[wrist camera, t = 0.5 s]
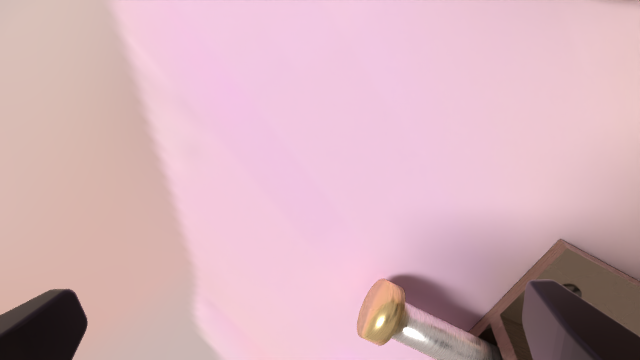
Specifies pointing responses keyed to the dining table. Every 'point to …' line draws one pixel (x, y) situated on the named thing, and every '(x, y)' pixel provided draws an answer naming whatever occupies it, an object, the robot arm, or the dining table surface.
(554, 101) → the dining table surface
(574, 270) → the hinge
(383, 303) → the pin
